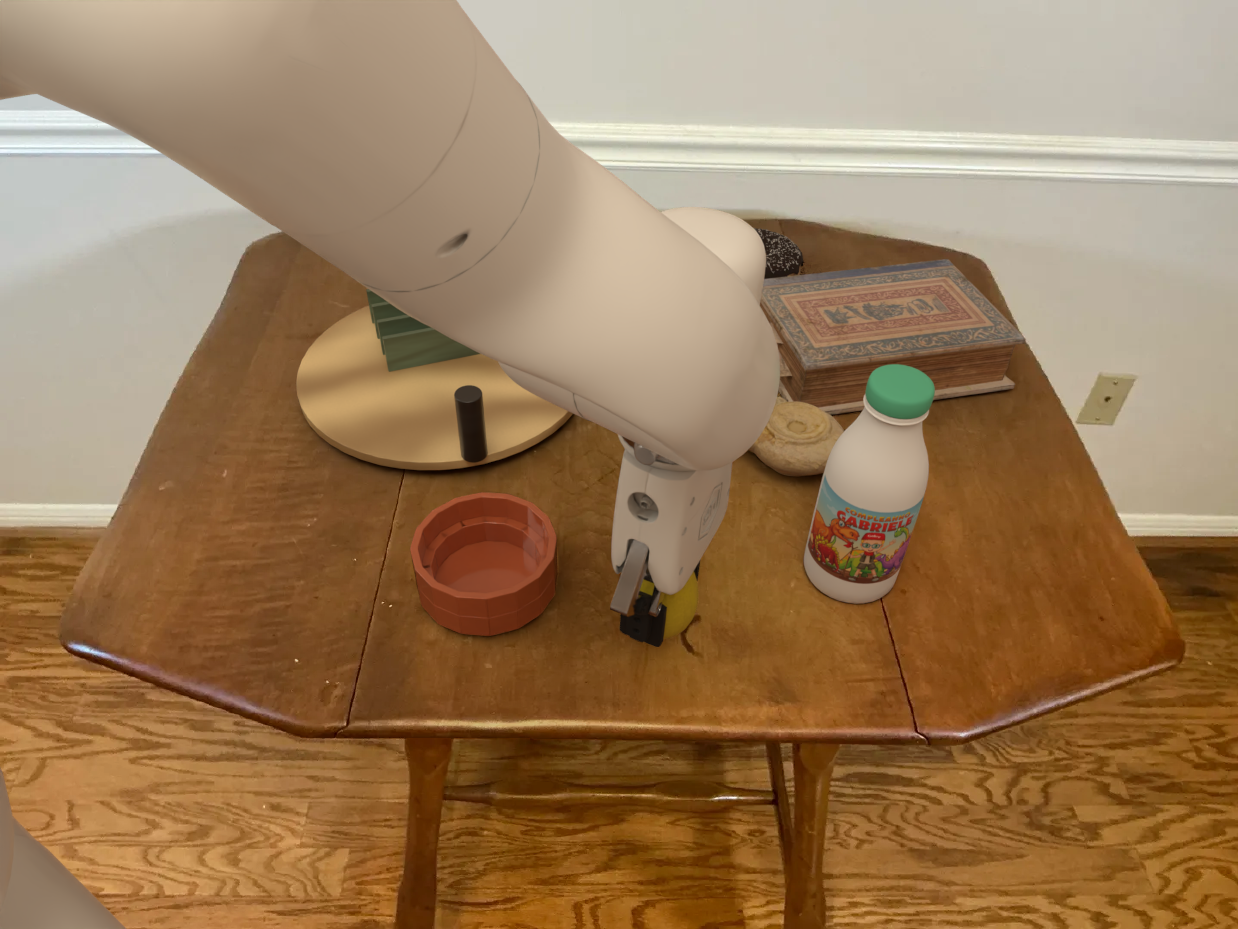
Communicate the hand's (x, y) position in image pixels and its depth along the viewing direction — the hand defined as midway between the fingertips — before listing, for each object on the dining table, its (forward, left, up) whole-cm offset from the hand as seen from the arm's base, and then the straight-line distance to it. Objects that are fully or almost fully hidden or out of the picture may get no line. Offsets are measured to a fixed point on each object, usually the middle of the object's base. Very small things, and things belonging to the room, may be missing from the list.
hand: (659, 605), depth 69 cm
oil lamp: (+26, 0, -6) cm, 26 cm away
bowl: (0, +15, -5) cm, 16 cm away
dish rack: (+20, +33, -4) cm, 39 cm away
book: (+45, -5, -6) cm, 46 cm away
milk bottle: (+15, -11, -6) cm, 19 cm away
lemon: (0, 0, -3) cm, 3 cm away
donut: (+56, +12, -6) cm, 57 cm away
